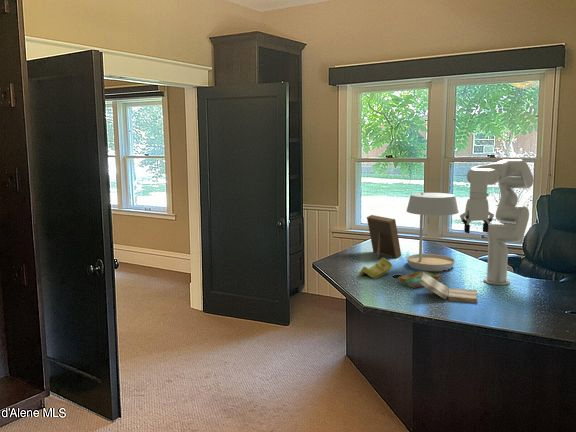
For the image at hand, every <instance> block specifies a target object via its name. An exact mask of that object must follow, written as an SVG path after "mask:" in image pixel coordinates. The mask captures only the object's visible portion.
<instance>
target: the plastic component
mask: <svg viewBox="0 0 576 432" xmlns="http://www.w3.org/2000/svg"><path fill="white" fill-rule="evenodd" d="M392 268H393V264H392V262H391V261H390V260H388V259H387V258H385V257H381V258H380V259H379V260H378V261H377V262H376V263H375V264H374V265H372V266H370V267H368V268H367V267H366V266H363V267H362V268H361V270H360V271H359V273H358V275H360V276H363V275H365V274H366V275H367V276H369V277H370V278H371V279H378V278H380V277H382V276H384V275H386V274H387V272H388V271H390V270H391V269H392Z"/></svg>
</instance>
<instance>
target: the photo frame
mask: <svg viewBox="0 0 576 432" xmlns="http://www.w3.org/2000/svg"><path fill="white" fill-rule="evenodd" d="M366 220H367V225H368V231H369V236H370V241H371V247H372V251H373V253H376V258H377V259H379V258H380V255H383V256H387V257H391V258H394V259H399V258H400V257H402V251H401V244H400V240H399V234H398V229H397V223H396V221H397V220H396V219H395V218H390V217H384V216H379V215H375V214H374V215H373V214H370V215H368V216H367V217H366ZM379 260H380V259H379Z"/></svg>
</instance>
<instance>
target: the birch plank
mask: <svg viewBox="0 0 576 432" xmlns="http://www.w3.org/2000/svg"><path fill="white" fill-rule="evenodd" d="M419 283H420V284H421V285H423V286H422V287H424V288H426V289H428V290H429V291H431V292H432V293H434V294H436V295H437V296H439V297H440V298H442V299H444V300H446V299H448V294H449V288H450V287H448V286H447V285H445V284H444V283H442V282H440V281H439V280H438V279H437V280H435V279H434V278H432V277H431V276H429V275H427V274H426V273H424V272H423V274H422V275H421V278H420V281H419Z"/></svg>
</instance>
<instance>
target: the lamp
mask: <svg viewBox="0 0 576 432" xmlns="http://www.w3.org/2000/svg"><path fill="white" fill-rule="evenodd" d="M456 198H457V197H456V195H455V194H453V193H447V192H446V193H444V192H414V193H411V194H410V196H409V200H408V204H407V208H406V213H409V214H412V215H419V238H418V239H419V242H418V243H419V246H418V251H419V252H418V253H417V254H411V255H408V256H407V257H406V260H407V263H408V266H409V267H410V268H412V269H415V270H418V271H419V270H420V271H425V272H444V271H443V270H446V271H449V270H448V269H450V270H452V269H453V268H454V265H455V262H456V259H455V258H453V257H451V256H448V255H443V254H435V253H423V233H424V231H423V229H424V228H423V227H424V216H427V225H429V224H430V216H452V215H457V214H458V213H459V208H458V207H459V206H458V204H457V199H456ZM452 267H453V268H452ZM451 268H452V269H451Z"/></svg>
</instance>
